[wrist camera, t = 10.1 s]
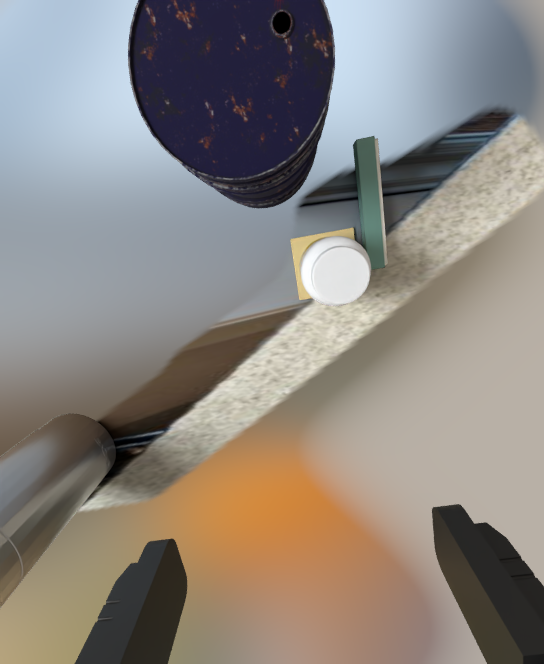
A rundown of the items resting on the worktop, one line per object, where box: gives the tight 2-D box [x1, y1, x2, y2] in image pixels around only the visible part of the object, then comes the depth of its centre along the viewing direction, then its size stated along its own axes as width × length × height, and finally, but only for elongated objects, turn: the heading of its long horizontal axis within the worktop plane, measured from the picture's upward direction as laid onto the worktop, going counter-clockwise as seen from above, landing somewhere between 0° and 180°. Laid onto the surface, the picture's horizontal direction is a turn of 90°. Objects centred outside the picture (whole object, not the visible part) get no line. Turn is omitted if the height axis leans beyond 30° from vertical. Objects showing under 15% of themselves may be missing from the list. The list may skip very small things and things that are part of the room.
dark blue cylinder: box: [128, 0, 335, 208], centre depth 22 cm, size 10×10×15 cm
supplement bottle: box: [299, 236, 371, 306], centre depth 27 cm, size 5×5×10 cm
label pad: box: [290, 228, 355, 300], centre depth 32 cm, size 6×6×1 cm
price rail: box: [353, 136, 388, 270], centre depth 29 cm, size 2×11×2 cm, turn 10°
